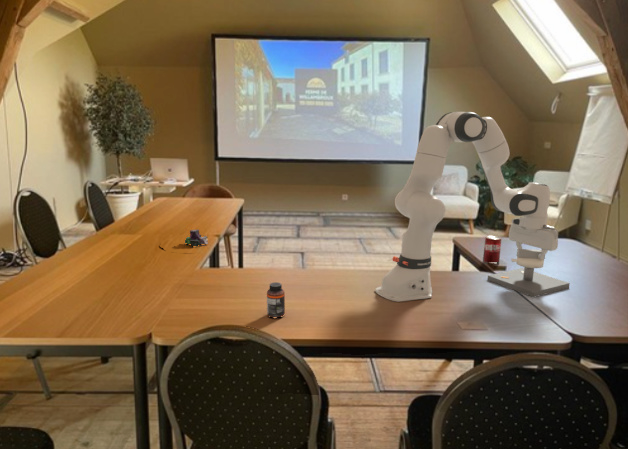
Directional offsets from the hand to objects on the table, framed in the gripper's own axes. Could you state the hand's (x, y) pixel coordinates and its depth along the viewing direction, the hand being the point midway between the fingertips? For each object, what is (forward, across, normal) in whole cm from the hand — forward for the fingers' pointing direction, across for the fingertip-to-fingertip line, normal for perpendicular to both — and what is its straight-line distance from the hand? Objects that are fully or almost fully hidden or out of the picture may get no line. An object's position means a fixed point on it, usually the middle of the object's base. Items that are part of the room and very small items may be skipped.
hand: (530, 256), depth 195 cm
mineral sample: (+13, +122, +103) cm, 160 cm away
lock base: (+12, 0, 0) cm, 12 cm away
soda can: (+12, +28, -11) cm, 32 cm away
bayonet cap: (+4, 0, 0) cm, 4 cm away
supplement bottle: (+12, +19, +105) cm, 107 cm away
